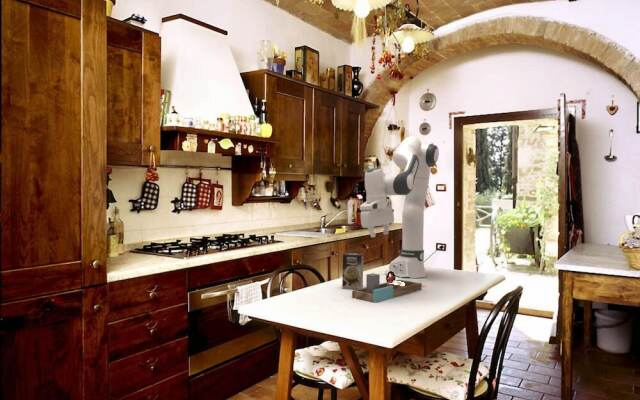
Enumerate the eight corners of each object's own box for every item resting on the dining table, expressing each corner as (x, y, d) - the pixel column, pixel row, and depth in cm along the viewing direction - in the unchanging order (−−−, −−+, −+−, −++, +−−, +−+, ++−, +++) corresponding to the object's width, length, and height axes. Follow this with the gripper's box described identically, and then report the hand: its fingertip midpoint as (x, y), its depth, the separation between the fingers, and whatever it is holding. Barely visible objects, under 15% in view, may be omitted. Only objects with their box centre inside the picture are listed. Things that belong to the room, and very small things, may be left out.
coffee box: (341, 288, 214) (342, 254, 214) (344, 285, 220) (344, 252, 220) (361, 289, 212) (361, 255, 211) (363, 286, 218) (363, 253, 218)
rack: (352, 297, 196) (352, 286, 196) (399, 285, 221) (399, 275, 221) (375, 302, 187) (375, 290, 187) (421, 289, 212) (421, 279, 212)
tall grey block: (366, 297, 196) (366, 274, 196) (372, 296, 199) (372, 273, 199) (373, 299, 193) (373, 275, 193) (379, 297, 196) (379, 274, 196)
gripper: (384, 202, 212) (387, 232, 212) (357, 206, 197) (360, 238, 197) (396, 202, 207) (398, 232, 208) (368, 206, 192) (371, 238, 193)
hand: (379, 235), depth 202 cm, fingers open, 8 cm apart
